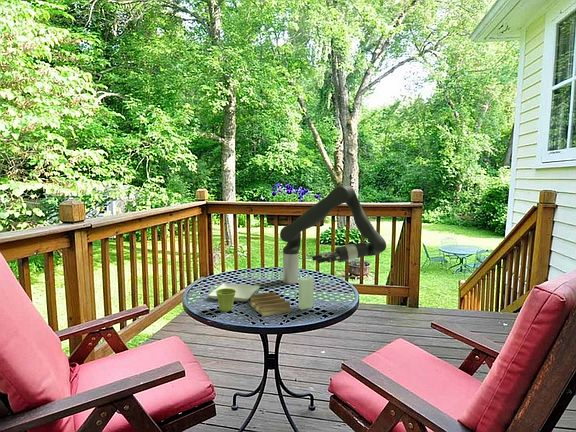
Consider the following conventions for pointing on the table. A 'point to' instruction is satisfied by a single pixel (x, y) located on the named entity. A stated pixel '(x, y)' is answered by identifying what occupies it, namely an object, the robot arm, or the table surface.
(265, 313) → the drying rack
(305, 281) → the pale green block
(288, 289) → the table surface
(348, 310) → the table surface
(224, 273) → the table surface
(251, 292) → the salad plate
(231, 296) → the plant pot
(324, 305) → the table surface
